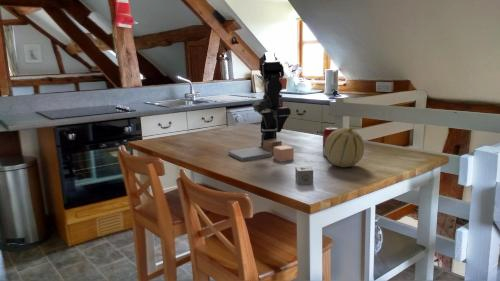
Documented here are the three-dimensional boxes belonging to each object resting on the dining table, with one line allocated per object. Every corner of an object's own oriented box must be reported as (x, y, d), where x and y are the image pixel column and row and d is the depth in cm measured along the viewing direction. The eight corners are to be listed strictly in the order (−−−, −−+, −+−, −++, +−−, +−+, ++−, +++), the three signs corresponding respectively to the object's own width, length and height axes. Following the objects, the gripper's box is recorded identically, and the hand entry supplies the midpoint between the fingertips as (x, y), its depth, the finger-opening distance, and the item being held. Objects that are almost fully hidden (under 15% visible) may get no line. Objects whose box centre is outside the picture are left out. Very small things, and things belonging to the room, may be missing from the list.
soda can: (329, 158, 160) (330, 129, 157) (319, 155, 166) (319, 127, 163) (342, 156, 163) (343, 128, 160) (332, 153, 169) (332, 125, 166)
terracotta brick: (285, 156, 166) (285, 145, 165) (293, 159, 161) (293, 147, 160) (273, 158, 163) (273, 147, 162) (281, 161, 158) (281, 149, 157)
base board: (256, 150, 178) (256, 146, 178) (271, 156, 166) (271, 153, 166) (228, 154, 172) (228, 151, 172) (242, 161, 160) (242, 157, 160)
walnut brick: (274, 149, 179) (274, 138, 178) (281, 152, 174) (281, 141, 173) (263, 151, 177) (263, 140, 176) (270, 153, 171) (269, 142, 170)
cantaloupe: (331, 159, 158) (331, 123, 155) (368, 163, 151) (369, 125, 148) (318, 169, 146) (318, 129, 143) (357, 173, 139) (358, 132, 135)
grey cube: (295, 181, 133) (295, 166, 132) (310, 180, 133) (310, 166, 132) (298, 185, 128) (298, 171, 127) (313, 184, 128) (313, 170, 127)
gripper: (244, 92, 163) (246, 129, 166) (265, 95, 146) (266, 136, 149) (268, 90, 167) (269, 126, 171) (291, 93, 151) (291, 133, 154)
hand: (273, 130), depth 161 cm, fingers open, 9 cm apart
